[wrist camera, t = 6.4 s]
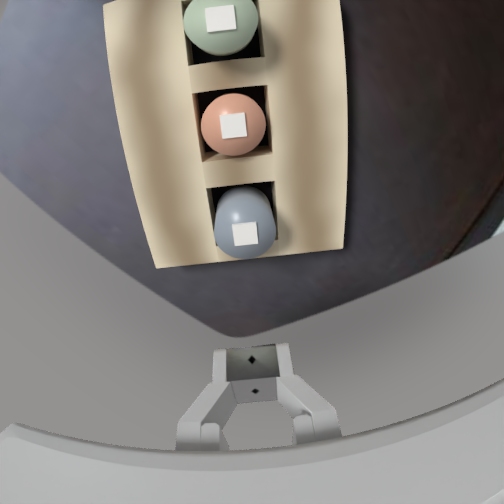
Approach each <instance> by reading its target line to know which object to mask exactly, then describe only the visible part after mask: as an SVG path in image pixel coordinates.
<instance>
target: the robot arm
mask: <svg viewBox="0 0 504 504" xmlns="http://www.w3.org/2000/svg"><path fill="white" fill-rule="evenodd" d="M213 357H214V358H213V383H209V384H208V385H207V386H206V387H205V389H204V390H203V391H202V393H201V394H200V395H199V396H198V398H197V399H196V400H195V401H194V403H193V404H192V405H191V407H190V408H189V409H188V410H187V412H186V413H185V414H184V415H183V417H182V418H181V419H180V420H179V421H178V426H177V438H176V450H158V449H146V448H136V447H126V446H119V445H112V444H105V443H99V442H93V441H88V440H83V439H78V438H73V437H68V436H64V435H59V434H56V433H51V432H48V431H44V430H40V429H37V428H33V427H30V426H27V425H24V424H21V423H12V424H11V425H10V426H8V427H7V428H6V429H5V430H4V431H3V432H2V433H0V504H504V378H503V379H501V380H499V381H497V382H496V383H494V384H492V385H490V386H488V387H486V388H484V389H482V390H480V391H477V392H475V393H473V394H471V395H469V396H467V397H465V398H462V399H460V400H457V401H455V402H453V403H450V404H448V405H445V406H443V407H440V408H438V409H435V410H432V411H430V412H427V413H424V414H421V415H418V416H415V417H412V418H410V419H406V420H403V421H400V422H397V423H393V424H390V425H387V426H383V427H380V428H376V429H372V430H368V431H364V432H360V433H357V434H352V435H347V436H343V437H342V434H341V430H340V426H339V422H338V417H337V414H336V409H335V408H334V407H333V406H332V405H330V404H329V403H328V402H327V401H326V400H325V399H324V398H323V397H322V396H321V395H319V394H318V393H317V392H316V391H315V390H314V389H313V388H312V387H311V386H310V385H308V384H307V383H306V382H305V381H304V380H303V379H302V378H301V377H300V376H299V375H294V369H293V364H292V359H291V353H290V347H289V344H288V343H280V344H276V345H275V344H270V345H262V346H252V347H245V348H229V349H215V350H214V355H213ZM273 400H278V402H279V403H280V404H281V405H282V407H283V408H284V409H285V410H286V411H287V412H288V414H289V415H290V416H291V417H292V418H293V419H294V422H293V436H292V443H293V445H291V446H282V447H272V448H263V449H249V450H232V451H229V445H228V443H227V441H226V439H225V437H224V435H223V432H222V429H223V427H224V426H225V424H226V422H227V421H228V419H229V417H230V416H231V414H232V412H233V411H234V409H235V407H236V406H237V404H240V403H249V402H260V401H273Z"/></svg>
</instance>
